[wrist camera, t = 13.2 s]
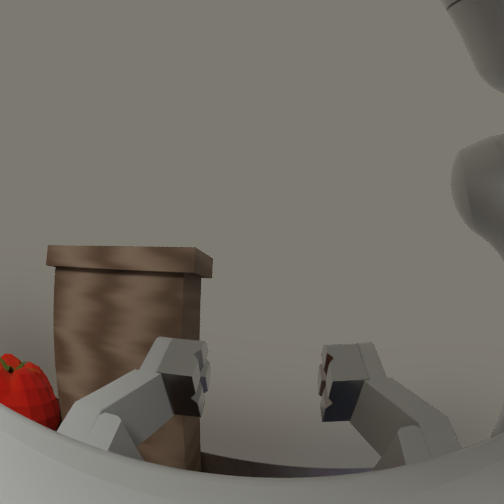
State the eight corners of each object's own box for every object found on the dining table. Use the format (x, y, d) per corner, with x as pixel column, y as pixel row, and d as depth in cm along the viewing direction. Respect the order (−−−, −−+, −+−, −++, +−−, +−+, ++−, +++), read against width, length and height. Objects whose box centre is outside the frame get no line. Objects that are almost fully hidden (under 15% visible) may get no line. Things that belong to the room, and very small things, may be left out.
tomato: (73, 457, 25) (60, 374, 26) (-24, 455, 15) (-46, 366, 17) (57, 417, 34) (50, 350, 36) (-18, 413, 24) (-29, 343, 26)
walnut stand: (211, 479, 27) (212, 258, 30) (198, 513, 20) (195, 247, 23) (93, 451, 28) (84, 255, 31) (65, 472, 21) (48, 245, 25)
